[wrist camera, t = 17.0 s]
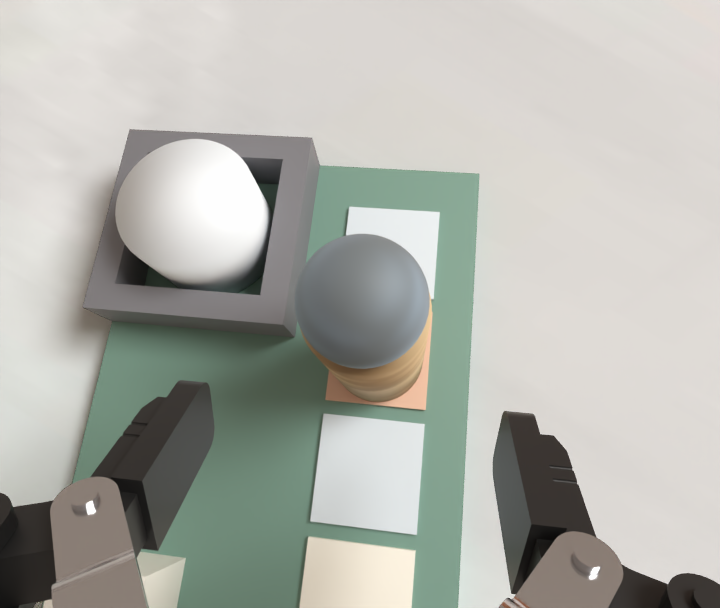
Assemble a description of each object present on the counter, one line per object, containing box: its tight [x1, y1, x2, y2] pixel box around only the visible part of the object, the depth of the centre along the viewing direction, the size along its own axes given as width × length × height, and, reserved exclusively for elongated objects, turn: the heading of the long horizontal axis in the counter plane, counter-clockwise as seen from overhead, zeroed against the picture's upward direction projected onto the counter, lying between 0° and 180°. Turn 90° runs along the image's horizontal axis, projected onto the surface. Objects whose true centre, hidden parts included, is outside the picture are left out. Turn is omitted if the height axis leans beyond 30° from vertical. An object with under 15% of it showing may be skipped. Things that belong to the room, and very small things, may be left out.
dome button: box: [115, 139, 273, 293], centre depth 23 cm, size 6×6×4 cm
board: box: [42, 129, 479, 608], centre depth 22 cm, size 17×24×5 cm
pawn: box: [295, 234, 432, 402], centre depth 18 cm, size 4×4×11 cm
